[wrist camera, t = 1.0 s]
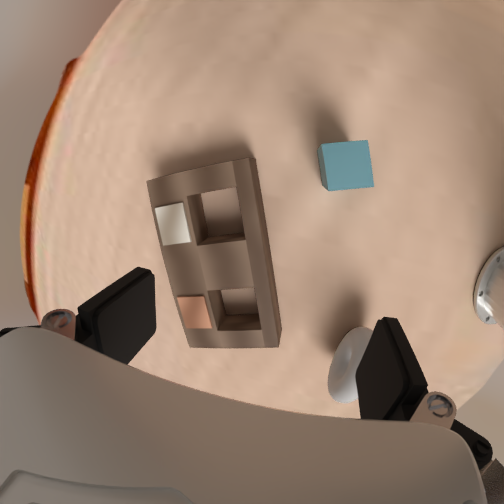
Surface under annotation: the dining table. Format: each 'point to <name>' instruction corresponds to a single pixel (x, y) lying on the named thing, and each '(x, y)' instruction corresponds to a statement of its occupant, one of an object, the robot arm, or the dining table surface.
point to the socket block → (216, 256)
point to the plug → (345, 165)
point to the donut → (347, 365)
